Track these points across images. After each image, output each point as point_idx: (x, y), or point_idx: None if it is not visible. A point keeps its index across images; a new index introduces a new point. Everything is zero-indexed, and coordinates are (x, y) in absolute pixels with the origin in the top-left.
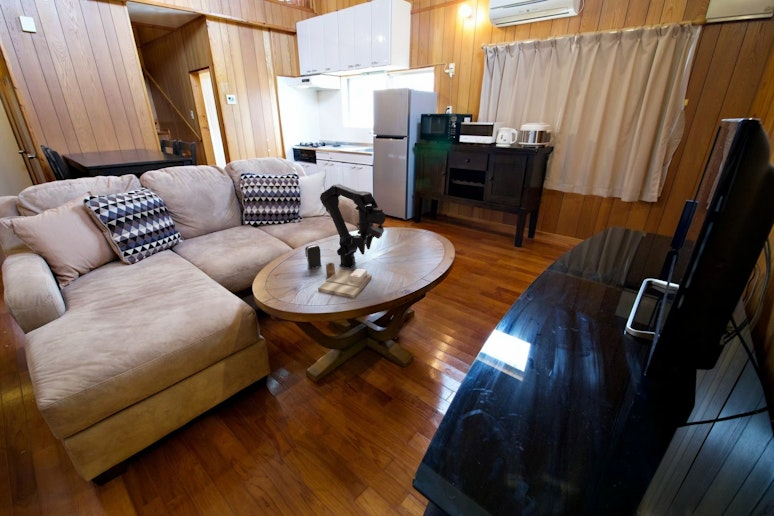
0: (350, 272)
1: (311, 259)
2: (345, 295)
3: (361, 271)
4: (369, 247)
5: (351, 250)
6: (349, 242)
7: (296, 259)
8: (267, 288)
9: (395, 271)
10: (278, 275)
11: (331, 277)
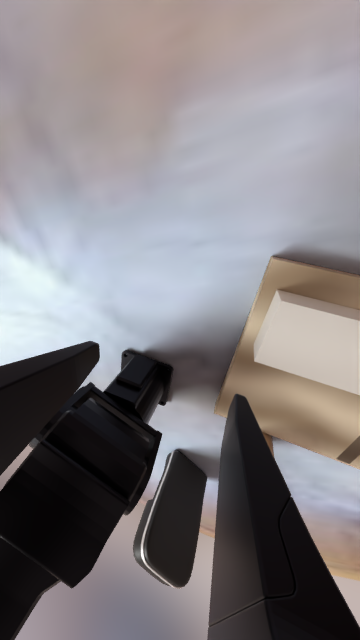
0: (245, 373)
1: (193, 511)
2: None
3: (307, 333)
4: (81, 354)
5: (126, 437)
6: (88, 512)
7: (150, 490)
8: (349, 567)
9: (161, 90)
10: None
11: (303, 442)
